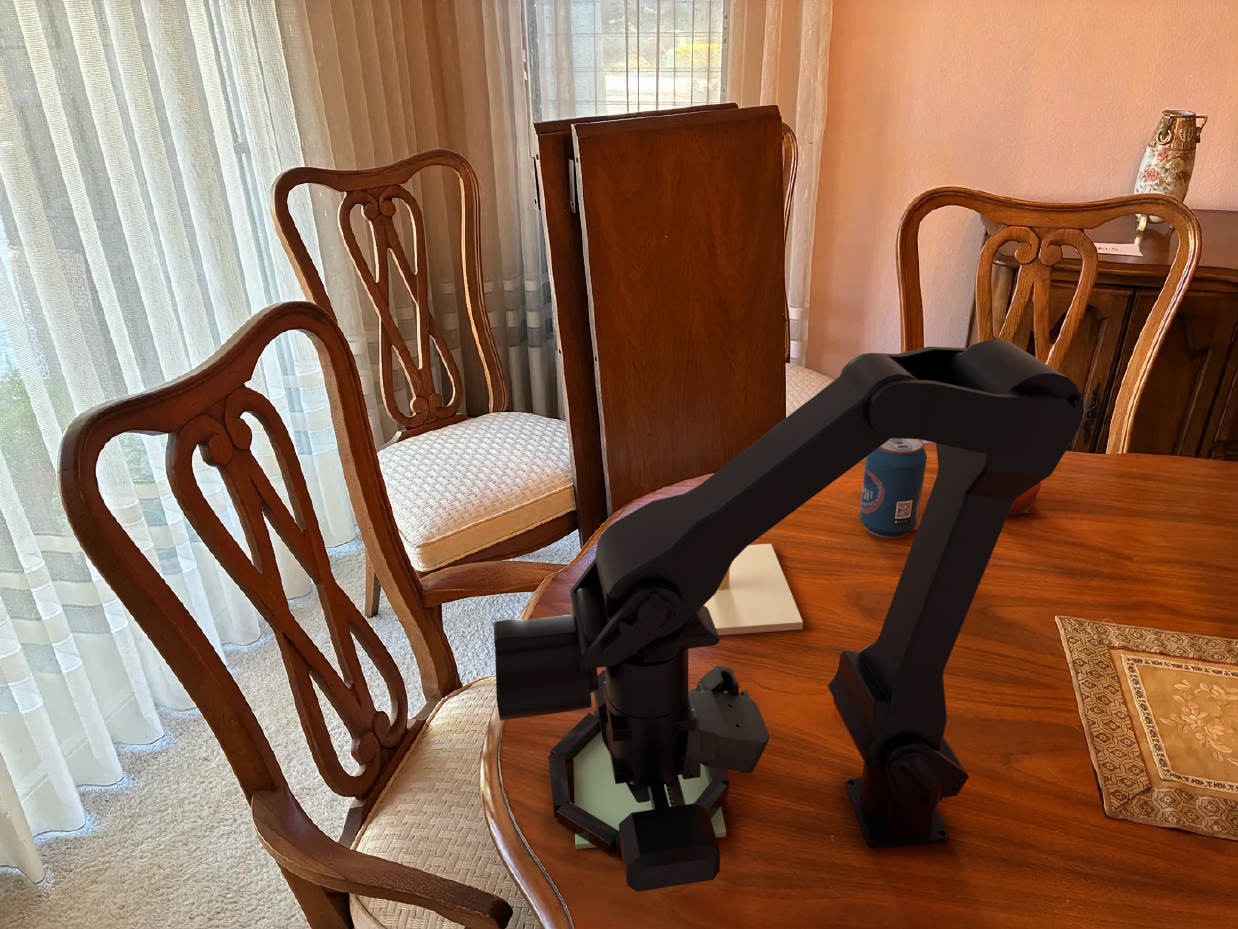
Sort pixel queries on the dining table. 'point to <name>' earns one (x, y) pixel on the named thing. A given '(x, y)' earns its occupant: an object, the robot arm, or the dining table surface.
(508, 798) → the dining table surface
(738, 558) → the stand
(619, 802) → the mat
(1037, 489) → the fruit
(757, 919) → the dining table surface
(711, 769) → the ring
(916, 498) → the soda can
